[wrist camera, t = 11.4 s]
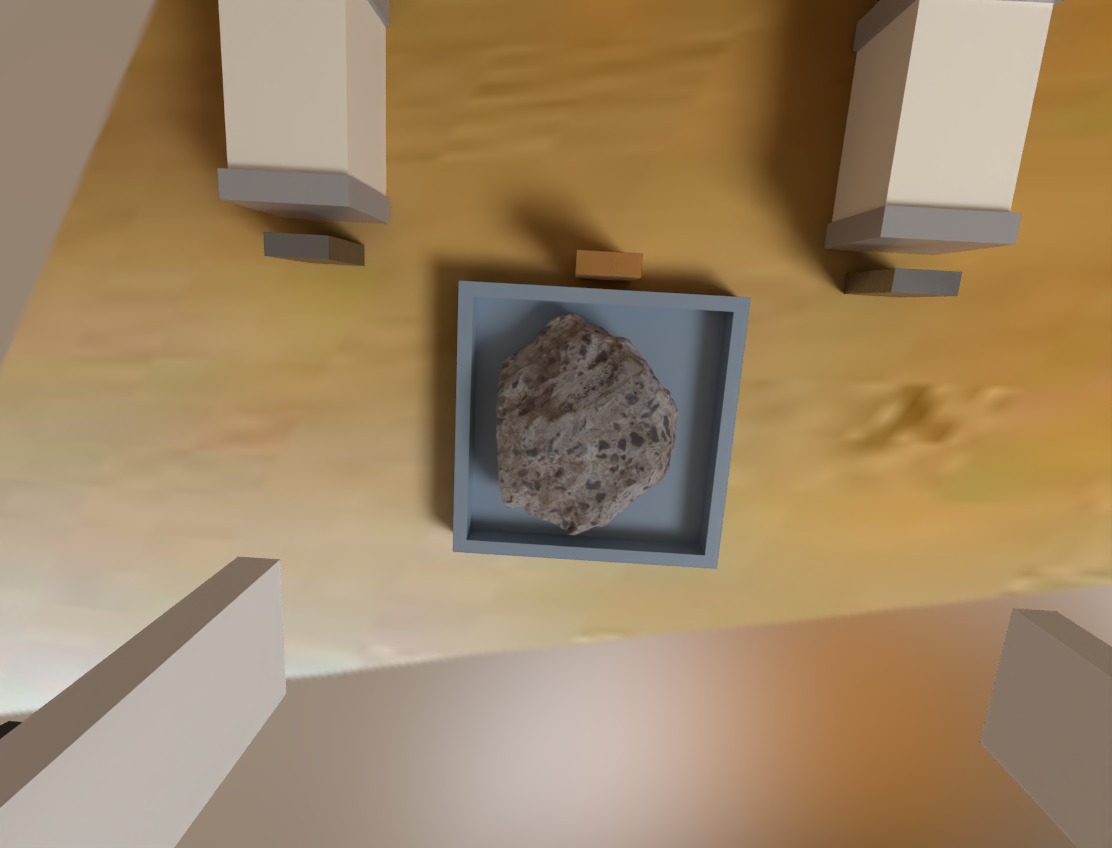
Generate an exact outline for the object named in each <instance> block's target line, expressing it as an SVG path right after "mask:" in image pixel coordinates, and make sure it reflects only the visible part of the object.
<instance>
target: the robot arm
mask: <svg viewBox="0 0 1112 848" xmlns="http://www.w3.org/2000/svg"><path fill="white" fill-rule="evenodd" d="M285 694H286V681H285V659H284V636H283V614H282V591H281V569H280V559H265V558H250V557H237V558H236V559H234V560H233V561H232V562H231V563H229V564H228V565H227V566H225V567H224V568H223V569H221V570H220V571H219V572H218V573H216V574H215V575H214V576H212V577H211V578H210V579H208V580H207V581H206V582H204V583H203V584H202V585H201V586H199V587H198V588H197V589H195V590H194V591H193V592H191V593H190V594H189V595H188V596H186V597H185V598H184V599H182V600H181V601H180V602H178V603H177V604H176V605H175V606H173V607H172V608H171V609H169V610H168V611H167V612H165V613H164V614H163V615H161V616H160V617H159V618H158V619H156V620H155V621H154V622H152V623H151V624H150V625H148V626H147V627H146V628H145V629H143V630H142V631H141V632H139V633H138V634H137V635H135V636H134V637H133V638H132V639H130V640H129V641H128V642H126V643H125V644H124V645H122V646H121V647H120V648H118V649H117V650H116V651H115V652H113V653H112V654H111V655H109V656H108V657H107V658H105V659H104V660H103V661H102V662H100V663H99V664H98V665H96V666H95V667H94V668H92V669H91V670H90V671H88V672H87V673H86V674H85V675H83V676H82V677H81V678H79V679H78V680H77V681H75V682H74V683H73V684H72V685H70V686H69V687H68V688H66V689H65V690H64V691H62V692H61V693H60V694H59V695H57V696H56V697H55V698H53V699H52V700H51V701H49V702H48V703H47V704H45V705H44V706H43V707H42V708H40V709H39V710H38V711H36V712H35V713H34V714H32V715H31V716H30V717H29V718H27V719H26V720H25V721H23V722H14V721H13V722H12V721H8V722H7V723H4V724H2V725H0V848H174V847H175V846H176V844H177V843H178V841H179V840H180V839H181V837H182V836H183V835H184V833H185V832H186V830H187V829H188V828H189V826H190V825H191V824H192V822H193V821H194V819H195V818H196V816H197V815H198V814H199V813H200V811H201V810H202V808H203V807H204V806H205V804H206V803H207V802H208V800H209V799H210V797H211V796H212V795H213V793H214V792H215V791H216V789H217V788H218V786H219V785H220V783H221V782H222V781H223V780H224V778H225V777H226V775H227V774H228V773H229V771H230V770H231V768H232V767H233V766H234V764H235V763H236V762H237V760H238V759H239V758H240V756H241V755H242V753H243V752H244V751H245V749H246V748H247V747H248V745H249V743H250V742H251V741H252V740H253V738H254V737H255V735H256V734H257V733H258V731H259V730H260V729H261V727H262V726H263V725H264V723H265V722H266V720H267V719H268V718H269V716H270V715H271V713H272V712H273V711H274V709H275V708H276V707H277V705H278V704H279V703H280V701H281V700H282V698H283V697H284V696H285ZM980 743H981V744H982V745H983V746H984V747H985V748H986V749H987V750H988V751H989V752H990V754H991V755H992V756H993V757H994V758H995V759H996V760H997V761H998V762H999V763H1000V764H1001V765H1002V767H1003V768H1004V769H1005V770H1006V771H1007V772H1008V773H1009V774H1010V775H1011V776H1012V777H1013V778H1014V779H1015V781H1016V782H1017V783H1018V784H1019V785H1020V786H1021V787H1022V788H1023V789H1024V790H1025V791H1026V792H1027V793H1028V795H1029V796H1030V797H1031V798H1032V799H1033V800H1034V801H1035V802H1036V803H1037V804H1038V805H1039V806H1040V807H1041V808H1042V810H1043V811H1044V812H1045V813H1046V814H1047V815H1048V816H1049V817H1050V818H1051V819H1052V821H1053V822H1055V824H1056V825H1057V826H1058V827H1059V828H1060V829H1061V830H1062V831H1063V832H1064V833H1065V835H1066V836H1067V837H1068V838H1069V839H1070V840H1071V841H1072V842H1073V843H1074V844H1075V845H1076V846H1077V847H1078V848H1112V647H1111V646H1110V645H1108V644H1107V643H1105V642H1103V641H1102V640H1100V639H1098V638H1097V637H1095V636H1094V635H1092V634H1091V633H1089V632H1088V631H1086V630H1085V629H1083V628H1081V627H1080V626H1078V625H1077V624H1075V623H1074V622H1072V621H1071V620H1069V619H1067V618H1066V617H1064V616H1063V615H1061V614H1059V613H1058V612H1057V611H1045V610H1029V609H1014V608H1013V610H1012V613H1011V617H1010V622H1009V626H1008V630H1007V634H1006V638H1005V642H1004V646H1003V650H1002V654H1001V658H1000V662H999V666H998V670H997V674H996V679H995V682H994V686H993V691H992V694H991V699H990V703H989V707H988V711H987V715H986V719H985V723H984V727H983V731H982V735H981V739H980Z"/></svg>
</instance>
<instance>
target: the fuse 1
mask: <svg viewBox="0 0 1112 848" xmlns="http://www.w3.org/2000/svg"><path fill="white" fill-rule="evenodd" d="M218 2H219V20H220V38H221V56H222V74H223V92H224V110H225V128H226V145H227V163H228V169H227V168H217V171H218V188H219V199H220V200H224V201H227V202H230V203H234V204H237V205H241V206H244V207H247V208H251V209H254V210H258V211H261V212H264V213H268V214H271V215H275V216H278V217H281V218H292V219H309V220H327V221H344V222H361V223H379V224H390V198H388V197H386V27H390V0H218Z"/></svg>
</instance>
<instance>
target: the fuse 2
mask: <svg viewBox="0 0 1112 848" xmlns="http://www.w3.org/2000/svg"><path fill="white" fill-rule="evenodd" d="M1062 1H1063V0H880V1H879V2H878V3H877V4H876V5H875V6H874V7H873V8H872V9H871V10H870V11H869V12H867V13H866V14H865V15H864V16H863V17H862V18H861V19H860V20H859V21H858V22H857V26H856V33H855V40H854V47H853V52H857V56H856V63H855V69H854V76H853V83H852V89H851V96H850V103H849V110H848V116H847V123H846V130H845V137H844V143H843V150H842V157H841V164H840V170H839V177H838V184H837V190H836V197H835V204H834V211H833V217H832V222H831V223H828V224H827V230H826V237H825V244H824V249H833V250H851V251H868V252H886V253H903V254H921V255H939V254H947V253H954V252H962V251H970V250H977V249H985V248H992V247H1000V246H1008V245H1015V243H1016V239H1017V234H1018V229H1019V225H1020V220H1021V215H1022V213H1010V209H1011V204H1012V200H1013V195H1014V190H1015V185H1016V180H1017V176H1018V171H1019V166H1020V161H1021V156H1022V152H1023V147H1024V142H1025V137H1026V132H1027V128H1028V123H1029V118H1030V113H1031V109H1032V104H1033V99H1034V94H1035V89H1036V85H1037V80H1038V75H1039V70H1040V65H1041V61H1042V56H1043V51H1044V46H1045V41H1046V37H1047V32H1048V27H1049V22H1050V17H1051V13H1052V8H1053V7H1054V6H1055V5H1057V4H1059V3H1060V2H1062Z"/></svg>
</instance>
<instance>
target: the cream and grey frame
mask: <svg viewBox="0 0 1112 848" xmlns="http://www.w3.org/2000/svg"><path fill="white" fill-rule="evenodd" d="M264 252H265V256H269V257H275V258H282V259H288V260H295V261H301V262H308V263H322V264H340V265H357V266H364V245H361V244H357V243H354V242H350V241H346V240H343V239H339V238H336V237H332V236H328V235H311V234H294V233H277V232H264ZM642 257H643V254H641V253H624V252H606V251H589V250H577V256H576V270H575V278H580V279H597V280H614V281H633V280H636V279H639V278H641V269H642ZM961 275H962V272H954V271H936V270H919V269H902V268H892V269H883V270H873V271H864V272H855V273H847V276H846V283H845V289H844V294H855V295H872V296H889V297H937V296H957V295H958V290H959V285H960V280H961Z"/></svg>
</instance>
